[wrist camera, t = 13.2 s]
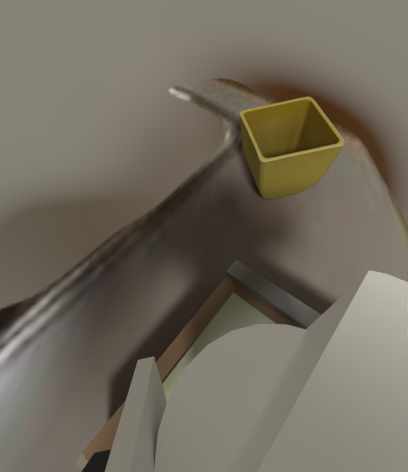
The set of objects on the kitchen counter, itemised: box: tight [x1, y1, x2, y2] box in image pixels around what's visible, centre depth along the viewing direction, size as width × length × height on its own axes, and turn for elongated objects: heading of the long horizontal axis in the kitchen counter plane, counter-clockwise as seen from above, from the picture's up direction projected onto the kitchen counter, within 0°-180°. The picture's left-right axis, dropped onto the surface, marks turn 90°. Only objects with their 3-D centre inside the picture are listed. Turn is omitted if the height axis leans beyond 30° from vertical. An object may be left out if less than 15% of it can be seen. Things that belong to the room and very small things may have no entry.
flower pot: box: [240, 97, 345, 199], centre depth 31 cm, size 9×9×9 cm
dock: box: [75, 259, 321, 472], centre depth 19 cm, size 16×19×6 cm
